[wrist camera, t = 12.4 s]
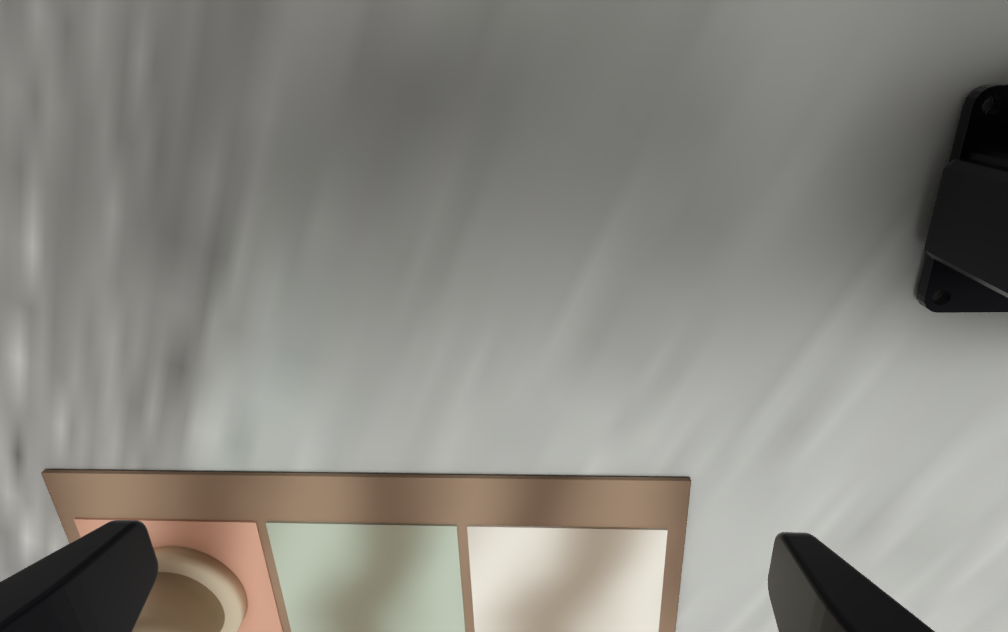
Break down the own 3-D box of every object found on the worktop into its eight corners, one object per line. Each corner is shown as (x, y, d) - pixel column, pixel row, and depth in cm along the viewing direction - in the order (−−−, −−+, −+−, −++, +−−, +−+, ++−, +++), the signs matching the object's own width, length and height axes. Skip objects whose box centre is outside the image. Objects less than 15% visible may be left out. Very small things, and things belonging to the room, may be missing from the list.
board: (689, 477, 22) (691, 482, 22) (667, 699, 27) (668, 705, 27) (45, 469, 24) (39, 474, 24) (128, 678, 29) (124, 684, 29)
